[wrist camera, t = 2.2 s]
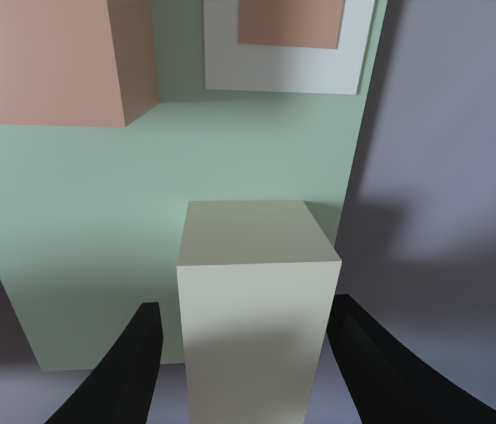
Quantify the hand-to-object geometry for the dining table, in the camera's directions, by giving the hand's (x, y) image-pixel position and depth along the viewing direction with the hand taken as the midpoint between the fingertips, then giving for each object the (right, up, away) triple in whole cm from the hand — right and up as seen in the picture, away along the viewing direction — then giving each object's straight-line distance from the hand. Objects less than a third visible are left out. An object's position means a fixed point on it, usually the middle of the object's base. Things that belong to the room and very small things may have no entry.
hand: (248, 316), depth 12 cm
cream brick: (0, +1, +1) cm, 2 cm away
